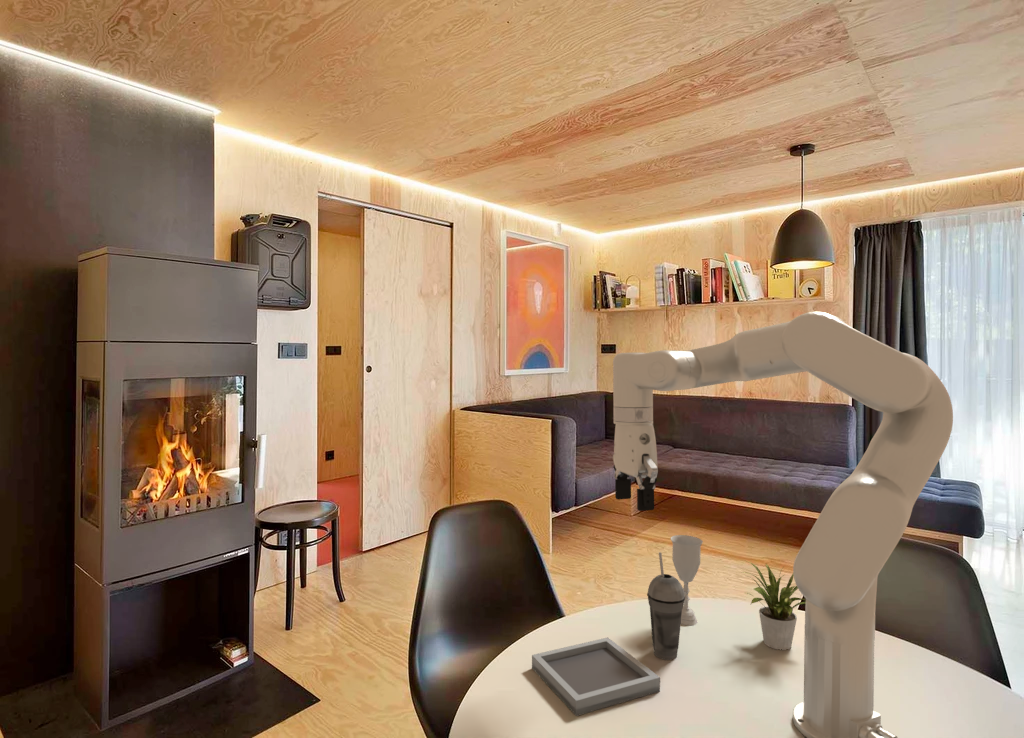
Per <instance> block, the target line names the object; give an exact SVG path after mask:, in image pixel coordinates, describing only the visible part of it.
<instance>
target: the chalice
mask: <svg viewBox="0 0 1024 738" xmlns="http://www.w3.org/2000/svg"><path fill="white" fill-rule="evenodd" d="M670 541H671V543H672V562H673V566H674V568H675V571H676V573H677V576H678V578H679V580H680V581H682V582H683V590H684V596H685V600H684V605H683V609H682V615H681V625H683V626H694V625H695V626H696V625H697V624H698V622H697V621H698V619H697V616H696V615H695V612H694V610H693V609H692V608H690V606H689V601H691V598H690V597H689V592H690V589H689V584H690V583H691V582H693V581H694V578H695V576H697V573H698V571H699V568H700V566H701V552H702V551H701V546H702V545H703V543H704V541H703V540H702V539H701V538H698V537H696V536H692V535H687V534H685V535H684V534H683V535H682V534H678V535H672V536H671V537H670Z"/></svg>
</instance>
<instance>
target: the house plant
mask: <svg viewBox="0 0 1024 738" xmlns="http://www.w3.org/2000/svg"><path fill="white" fill-rule="evenodd" d="M744 561H746V562H747V563H749V564H751V566H752V567H754V568H755V570H756V571H757V574H758V575H759V577H760V578H758V577H757V575H754V574H752V573H749V572H745V571H743V572H741V573H744V574H748V576H747V575H746V577H747V578H751V579H752V580H753V581H754V582H755V583H756V584H757V586H756V587H754V588H753V591H756V592H757V593H758V594H760V595H761V596H762V598H761V597H754V595H753V594H751V593H748V592H745V594H747V595H748V594H749V595H751V596H752V597H754V598H752V599H751V602H750V605H753V604H755V603H758V602H760V603H761V601H764V602H765V603H766V604H767V606H765V604H763V603H761V605H762V606H763V607H760V608H759V610H758V614H759V620H760V627H761V632H762V633H761V634H762V639H763V643H764V645H766V646H768V647H769V648H772V649H774V650H778V649H780V650H779V651H786V649H788V650H790V649H791V648H792V645H793V639H794V635H795V629H796V625H797V615H796V614H795V613H794V612H793V610H794V608H796V607H797V606H800V605H803V604H805V603H806V601H805V598H801V597H791V596H792V595H793V594H794V593H795V592H796V591H797V590H799V589H798V587H797V585H795V586H794V585H793V586H791V585H792V583H793V580H794V575H793V573H792V575H791V576H790V577H789V579H788V582H787V583H786V587H785V586H784V587H781V589H780V583H781V580H782V578H783V577H784V576H785V574H783V575H782V576H781V573H782V570H783V568H784V567H782V568H781V569H780V572H779V576H778V579H777V580H776V577H775V574H774V572H773V571H772V570H771V568H770V567H769V565H768V564H767V563H765V564H764V565H765V568H766V569H767V575H768V580H769V584H768V583H767V582H766V580H765V578H764V575H763V573H762V571H761V570H760V569H759V568H758V566H757V565H755V564H754V563H752V562H751V561H748V560H744ZM749 575H751V576H753V577H755V578H756V579H757V580H758V581H759V582H760V583H761V585H762V587H761V586H760V585H759V583H758V582H757V580H755V579H754V578H753V577H751V576H749ZM779 590H780V591H779ZM779 592H780V593H779ZM795 601H800V602H798V603H796V604H794V605H793V606H791V605H792V603H793V602H795ZM781 649H782V650H781Z"/></svg>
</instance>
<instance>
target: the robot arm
mask: <svg viewBox="0 0 1024 738" xmlns="http://www.w3.org/2000/svg"><path fill="white" fill-rule="evenodd" d="M612 366H613V367H612V374H613V375H612V376H613V378H612V386H613V387H612V388H613V390H612V393H613V397H612V398H613V400H612V401H613V424H614V425H615V426H614V427H615V428H614V441H613V442H614V443H613V445H614V446H613V454H612V460H613V461H612V462H613V468H612V469H613V470H614V473H613V476H614V479H615V481H614V484H615V485H614V486H615V488H614V489H615V499H616V500H630V499H632V478H635V480H636V482H637V486H638V488H637V489H636V500H637V502H636V503H637V504H636V505H637V506H636V508H637V511H640V512H644V511H645V512H646V511H653V510H655V489H656V484H657V480H658V479H657V477H658V472H659V469H658V453H657V450H658V449H657V441H656V439H657V438H656V433H655V432H656V431H655V428H654V393H653V392H654V391H659V392H672V391H683V390H684V391H685V390H691V389H697V388H704V387H709V386H715V385H722V384H726V383H727V384H728V383H731V382H733V383H734V382H751V381H756V380H762V379H767V378H768V379H769V378H772V377H780V376H786V375H791V374H798V373H799V374H800V373H804V372H805V373H806V372H808V373H810V374H811V375H812V376H814V377H815V378H817V379H819V380H820V381H823V382H824V383H826V384H828V385H829V386H832V387H833V388H835V389H836V390H838V391H840V392H841V393H842V394H845V395H847V396H848V397H850V398H852V399H854V400H855V401H857V402H859V403H860V404H862V405H865V407H868V408H870V409H873V410H875V411H876V412H881V413H882V419H881V422H880V424H879V427H878V428H877V430H876V432H875V433H874V435H873V437H872V438H871V440H870V442H869V444H868V446H867V449H866V451H865V452H864V453H863V455H862V457H861V459H860V461H859V462H858V464H857V466H855V468H854V470H853V472H852V473H851V474H850V475H848V477H847V478H845V480H843V482H841V483H840V484H839V485H838V486H837V487H836V488H835V490H834V491H833V492H832V494H831V495H830V497H829V498H828V500H827V501H826V503H825V505H824V506H823V508H822V510H821V512H820V514H819V516H818V517H817V519H816V520H815V523H814V524H813V525H812V528H811V529H810V531H809V533H808V535H807V537H806V538H805V540H804V542H803V543H802V545H801V547H800V548H799V551H798V553H797V554H796V556H795V558H794V561H793V567H792V569H793V570H792V574H793V575H794V577H793V580H794V583H795V586H797V587H798V589H797V590H798V591H799V593H801V595H802V597H804V599H805V602H806V603H804V604H805V608H804V609H805V610H804V647H803V648H804V650H803V651H804V653H803V655H804V656H803V657H804V658H803V701H801V702H799V703H797V704H796V705H795V706H794V707H793V710H792V720H793V724H794V725H795V728H797V730H798V731H799V732H800V734H803V736H804V737H806V738H899V737H898V736H897V735H895V734H894V733H892V732H891V731H889V730H886V729H885V728H883V725H881V720H882V718H881V716H882V715H881V713H879V712H877V711H874V706H875V705H874V702H875V701H874V700H875V699H874V696H875V695H874V694H875V693H874V691H875V689H874V688H875V687H874V686H875V640H876V606H877V605H876V604H877V593H878V592H877V589H878V576H879V574H880V572H881V571H882V569H883V568H884V566H885V564H886V562H887V561H888V560H889V558H890V557H891V555H892V553H893V552H894V550H895V549H896V547H897V545H898V544H899V542H900V540H901V538H902V537H903V534H904V533H905V531H906V530H907V526H908V524H909V522H910V518H911V515H912V513H913V508H914V506H915V504H916V502H917V500H918V498H919V496H920V494H921V493H922V491H923V489H924V488H925V486H926V484H927V483H928V481H929V479H930V477H931V476H932V474H933V472H934V470H935V468H936V466H937V465H938V463H939V461H940V459H941V457H942V455H943V454H944V452H945V450H946V447H948V446H947V445H948V443H949V440H950V437H951V435H952V430H953V423H954V412H953V405H952V400H951V397H950V395H949V392H948V390H947V388H946V387H945V384H944V383H943V382H942V380H941V379H940V378H939V376H938V375H937V374H936V372H935V371H934V370H933V369H932V367H931V368H930V366H929V365H928V364H927V363H925V361H923V360H922V359H921V358H918V357H917V356H914V355H912V354H909V353H906V352H901V351H900V350H897V349H895V348H893V347H891V346H889V345H888V344H886V343H884V342H882V341H879V340H877V339H875V338H873V337H871V336H869V335H868V334H865V333H864V332H861V331H859V330H857V329H855V328H853V327H852V326H850V325H848V324H847V323H846V321H844V320H843V319H841V318H840V317H839V316H835V315H834V314H830V313H827V312H823V311H809V312H805V313H802V314H799V315H798V316H796V317H794V318H793V319H792V320H790V321H787V322H782V323H777V324H773V325H768V326H767V325H766V326H764V327H758V328H753V329H748V330H743V331H741V332H738V333H736V334H735V335H734V336H732V337H731V338H730V339H729V340H726V341H724V342H720V343H717V344H713V345H708V346H704V347H699V348H693V349H688V350H675V349H674V350H673V349H672V350H671V349H670V350H667V349H663V350H655V351H651V352H620V353H617V354H616V355H614V357H613V361H612ZM630 477H632V478H630Z"/></svg>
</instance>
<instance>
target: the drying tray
mask: <svg viewBox="0 0 1024 738" xmlns="http://www.w3.org/2000/svg"><path fill="white" fill-rule="evenodd" d="M531 669H532V670H533V671H534V672H535V673H536V674H537V676H538V677H539V678H540V679H541V680H542V681H543V682H544V683H545V684H546V685H547V686H548V687H549V689H551V690H552V692H553V693H554V694H555V695H556V696H557V697H558V698H559V699H560V701H562V702H563V703H564V704H565V706H566V707H567V708H568V709H569V710H570V711H571V712H572V713H573V714H574V716H576V717H577V716H581V715H585V714H588V713H591V712H595V711H598V710H602V709H605V708H609V707H611V706H616V705H618V704H622V703H626V702H627V701H628V702H629V701H632V700H635V699H639V698H642V697H646V696H650V695H652V694H655V693H659V692H661V677H660V676H659V675H658V674H657V673H655V672H654V671H653V670H651V669H650V668H649V667H648V666H646V665H645V664H643V663H642V662H640V661H639V660H638V659H637V658H636V657H634V656H633V655H632V654H630V653H629V652H628V651H627V650H625V649H624V648H623V647H621V646H620V645H618V644H617V642H615V641H613V640H612V639H611V638H609V637H604V638H599V639H595V640H591V641H586V642H582V643H578V644H573V645H569V646H565V647H560V648H557V649H551V650H548V651H544V652H539V653H534V654H532V655H531Z"/></svg>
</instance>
